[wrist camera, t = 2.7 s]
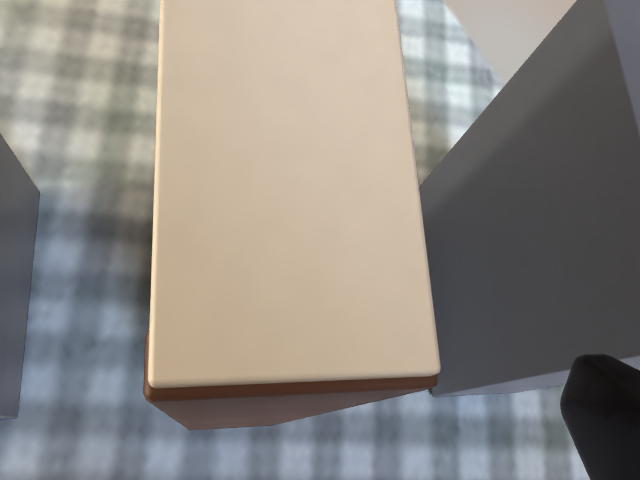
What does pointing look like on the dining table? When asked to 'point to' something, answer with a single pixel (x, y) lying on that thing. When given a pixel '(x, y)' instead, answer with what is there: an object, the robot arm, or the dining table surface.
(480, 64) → the dining table surface
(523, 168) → the grey bookends
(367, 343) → the tan rectangular block
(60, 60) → the dining table surface
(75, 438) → the dining table surface
